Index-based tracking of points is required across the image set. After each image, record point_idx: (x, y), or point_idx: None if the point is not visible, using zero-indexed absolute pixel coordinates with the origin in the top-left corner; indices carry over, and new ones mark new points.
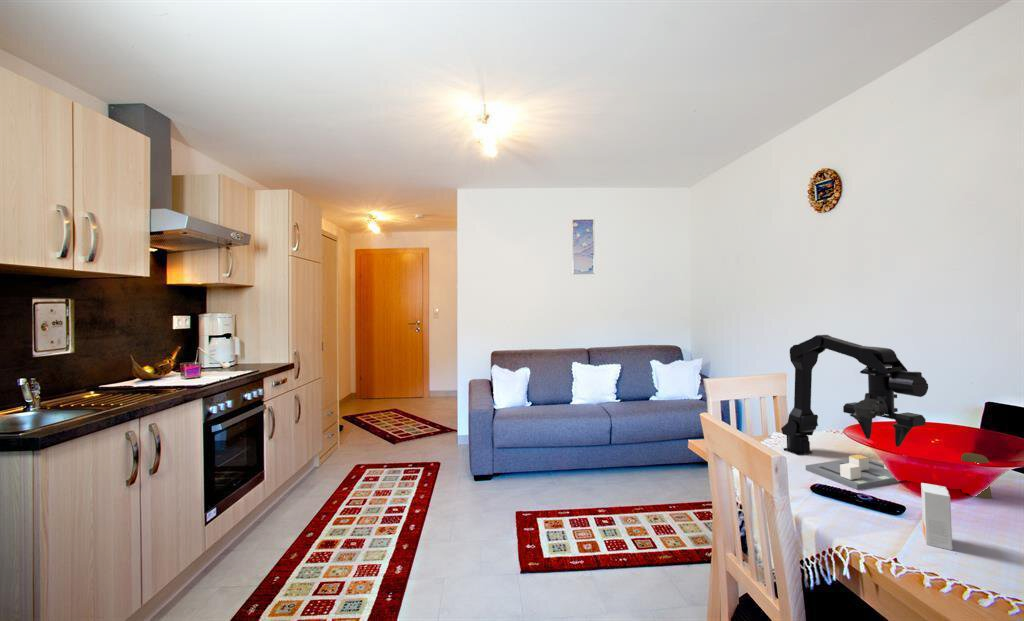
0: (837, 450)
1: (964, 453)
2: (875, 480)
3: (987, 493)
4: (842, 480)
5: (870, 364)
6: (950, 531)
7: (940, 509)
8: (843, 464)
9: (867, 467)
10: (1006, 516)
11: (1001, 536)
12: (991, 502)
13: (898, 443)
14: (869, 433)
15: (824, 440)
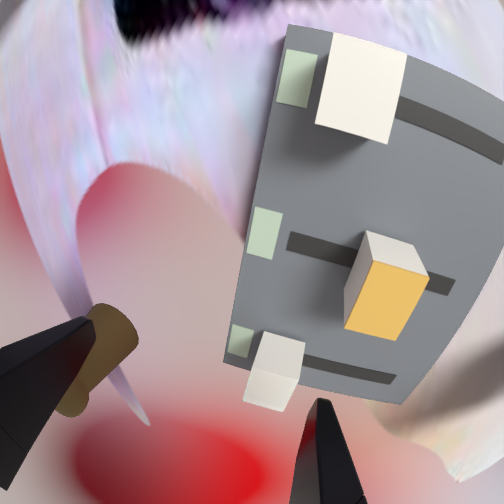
0: (461, 418)
1: (68, 410)
2: (268, 162)
3: None
4: None
5: None
6: None
7: None
8: (396, 72)
9: (347, 287)
10: (33, 223)
11: (2, 98)
12: (77, 292)
13: (58, 328)
14: (301, 453)
15: (482, 446)
